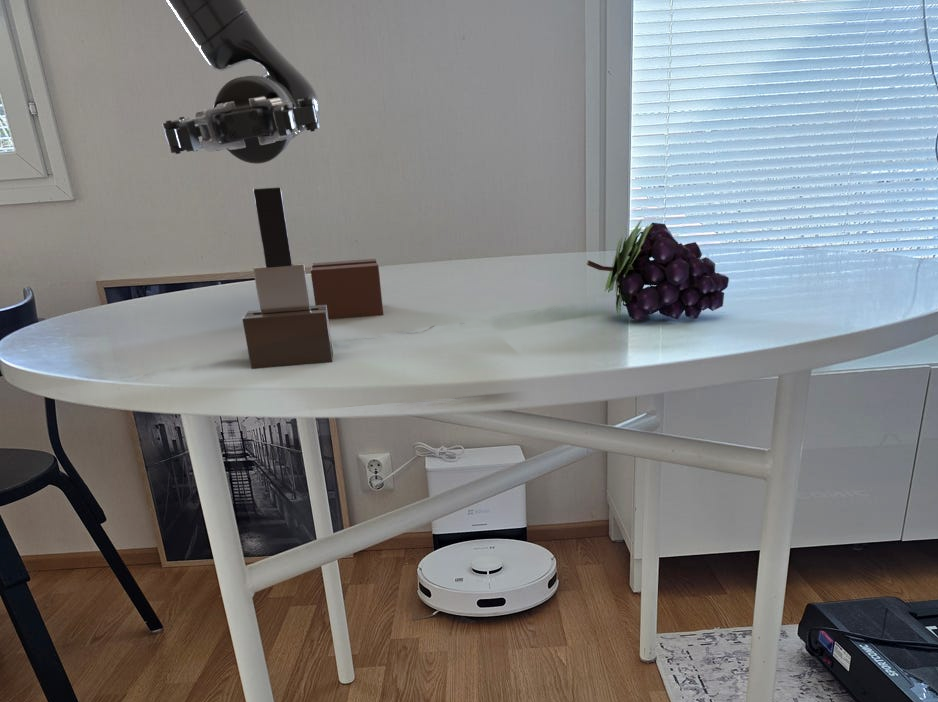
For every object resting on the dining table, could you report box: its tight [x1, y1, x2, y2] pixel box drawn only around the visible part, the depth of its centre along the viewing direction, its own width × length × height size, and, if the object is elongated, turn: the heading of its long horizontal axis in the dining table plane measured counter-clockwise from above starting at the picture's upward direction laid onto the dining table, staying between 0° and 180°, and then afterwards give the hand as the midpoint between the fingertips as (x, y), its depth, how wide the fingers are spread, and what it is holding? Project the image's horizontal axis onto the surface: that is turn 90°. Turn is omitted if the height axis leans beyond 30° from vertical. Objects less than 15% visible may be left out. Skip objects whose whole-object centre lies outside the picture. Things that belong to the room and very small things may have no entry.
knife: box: [252, 186, 311, 315], centre depth 75 cm, size 3×4×14 cm
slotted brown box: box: [310, 258, 385, 321], centre depth 96 cm, size 8×8×7 cm
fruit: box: [586, 219, 730, 322], centre depth 90 cm, size 10×11×15 cm
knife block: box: [242, 304, 334, 370], centre depth 78 cm, size 5×7×5 cm
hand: (233, 129), depth 76 cm, fingers open, 8 cm apart
